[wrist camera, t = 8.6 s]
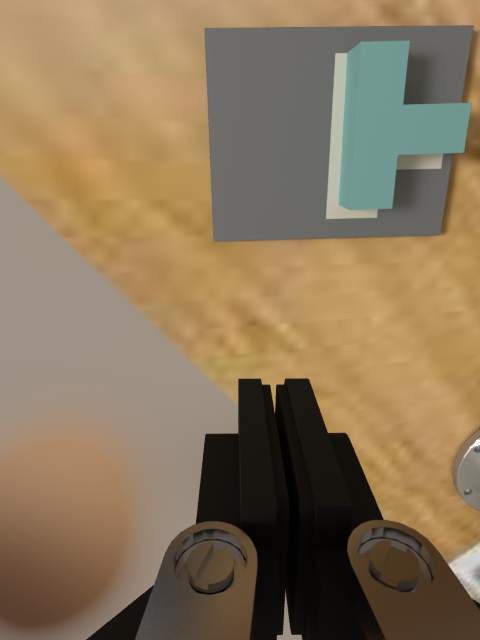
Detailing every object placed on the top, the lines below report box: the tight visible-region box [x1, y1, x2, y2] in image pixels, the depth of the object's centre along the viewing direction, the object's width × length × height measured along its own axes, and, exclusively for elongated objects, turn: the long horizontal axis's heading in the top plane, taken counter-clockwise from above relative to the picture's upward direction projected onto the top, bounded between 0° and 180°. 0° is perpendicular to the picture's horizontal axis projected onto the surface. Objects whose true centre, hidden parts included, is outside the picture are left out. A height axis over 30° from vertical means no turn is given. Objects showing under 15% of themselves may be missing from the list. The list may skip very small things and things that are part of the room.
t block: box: [339, 41, 472, 210], centre depth 29 cm, size 10×8×3 cm
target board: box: [205, 25, 474, 241], centre depth 31 cm, size 14×18×1 cm
